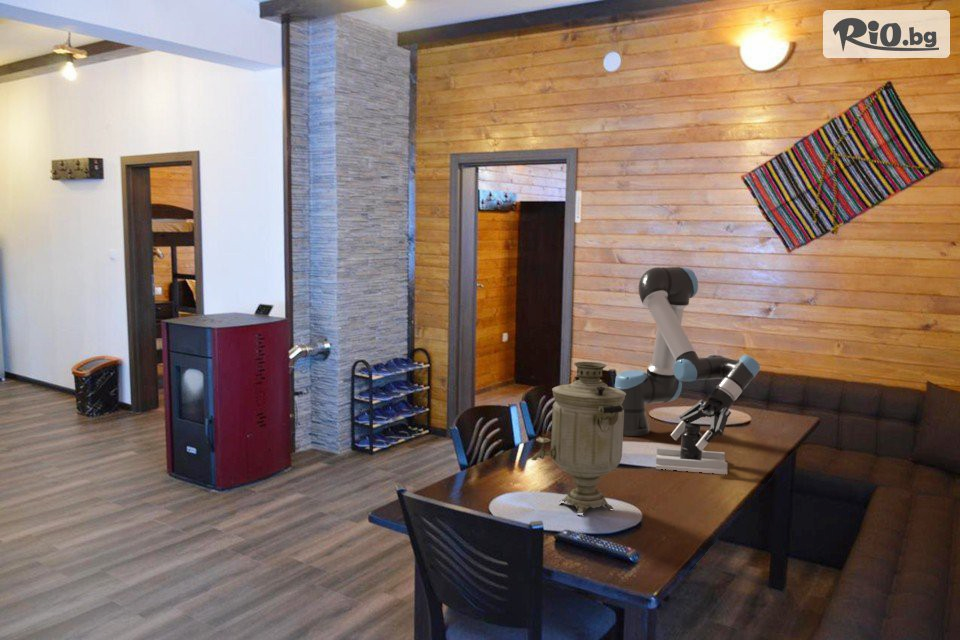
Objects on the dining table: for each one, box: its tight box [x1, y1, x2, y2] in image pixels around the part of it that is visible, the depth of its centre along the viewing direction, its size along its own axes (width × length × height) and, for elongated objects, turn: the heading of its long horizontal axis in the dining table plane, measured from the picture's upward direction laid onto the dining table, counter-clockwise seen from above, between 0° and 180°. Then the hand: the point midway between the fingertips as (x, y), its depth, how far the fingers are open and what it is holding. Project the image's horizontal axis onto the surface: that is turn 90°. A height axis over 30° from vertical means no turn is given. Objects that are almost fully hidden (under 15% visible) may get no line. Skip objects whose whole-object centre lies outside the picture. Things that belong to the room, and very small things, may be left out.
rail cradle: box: [655, 447, 729, 475], centre depth 243 cm, size 22×16×3 cm
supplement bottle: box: [680, 422, 703, 460], centre depth 243 cm, size 7×7×12 cm
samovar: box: [531, 361, 626, 514], centre depth 202 cm, size 30×26×40 cm
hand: (685, 442), depth 242 cm, fingers open, 13 cm apart
